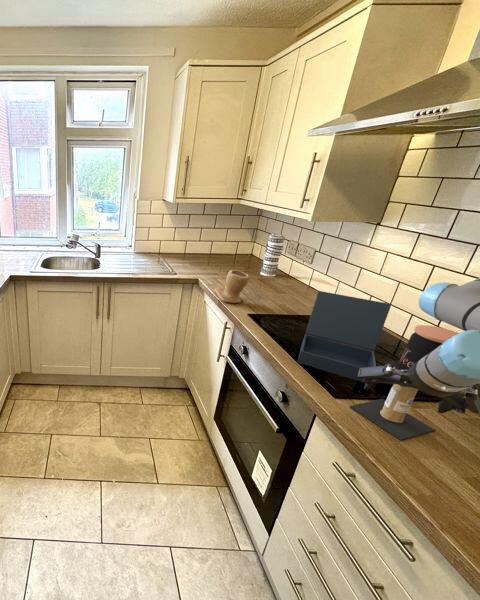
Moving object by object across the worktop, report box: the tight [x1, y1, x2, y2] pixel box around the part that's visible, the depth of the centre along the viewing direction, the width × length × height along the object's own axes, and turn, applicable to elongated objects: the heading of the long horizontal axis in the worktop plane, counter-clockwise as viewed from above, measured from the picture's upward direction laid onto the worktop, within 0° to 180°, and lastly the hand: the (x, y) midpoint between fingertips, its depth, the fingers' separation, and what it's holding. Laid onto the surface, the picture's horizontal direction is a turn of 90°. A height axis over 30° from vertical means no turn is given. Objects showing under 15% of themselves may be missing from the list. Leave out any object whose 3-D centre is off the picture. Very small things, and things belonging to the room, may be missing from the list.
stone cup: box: [214, 269, 250, 304], centre depth 156 cm, size 15×12×15 cm
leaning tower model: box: [260, 233, 286, 277], centre depth 193 cm, size 9×9×25 cm
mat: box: [349, 398, 436, 442], centre depth 82 cm, size 12×12×1 cm
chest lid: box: [305, 290, 392, 351], centre depth 108 cm, size 16×19×1 cm
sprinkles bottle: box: [380, 370, 418, 423], centre depth 80 cm, size 5×5×13 cm
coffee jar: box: [395, 324, 460, 397], centre depth 92 cm, size 11×11×18 cm
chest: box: [297, 333, 377, 383], centre depth 106 cm, size 15×19×5 cm
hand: (401, 395), depth 79 cm, fingers open, 13 cm apart
